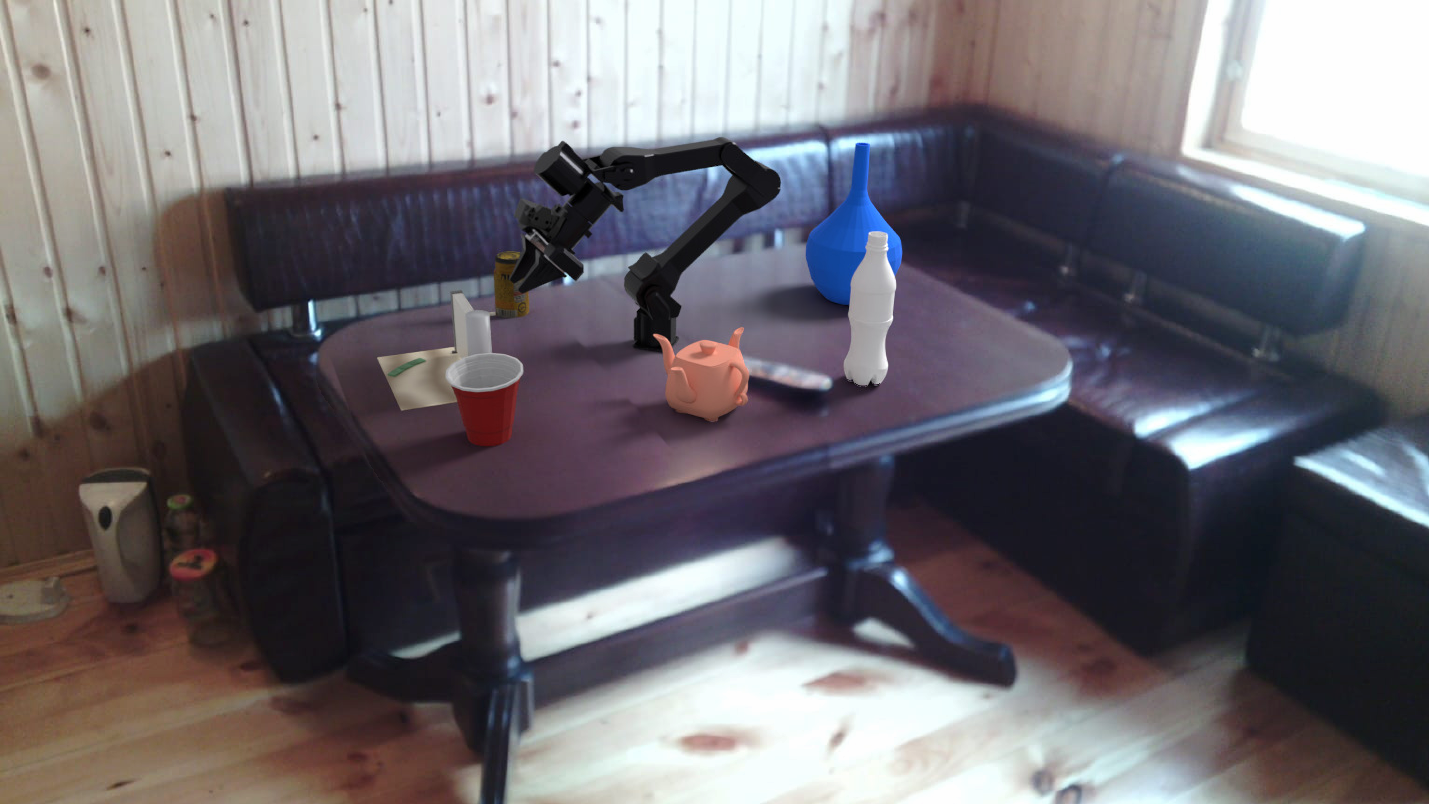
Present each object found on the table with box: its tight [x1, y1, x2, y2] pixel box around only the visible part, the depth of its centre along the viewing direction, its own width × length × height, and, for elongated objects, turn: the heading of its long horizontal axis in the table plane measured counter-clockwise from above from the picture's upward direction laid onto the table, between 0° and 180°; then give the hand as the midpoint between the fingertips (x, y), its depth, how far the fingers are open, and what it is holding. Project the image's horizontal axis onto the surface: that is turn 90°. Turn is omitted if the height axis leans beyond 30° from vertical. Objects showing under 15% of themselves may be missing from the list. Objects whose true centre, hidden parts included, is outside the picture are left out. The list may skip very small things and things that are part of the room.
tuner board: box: [376, 346, 461, 412], centre depth 185 cm, size 16×21×2 cm
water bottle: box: [843, 231, 897, 386], centre depth 185 cm, size 7×7×25 cm
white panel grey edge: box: [449, 289, 493, 359], centre depth 183 cm, size 17×4×12 cm, turn 24°
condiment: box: [488, 250, 530, 319], centre depth 208 cm, size 7×8×12 cm
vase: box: [805, 142, 903, 306], centre depth 219 cm, size 18×18×30 cm
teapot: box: [653, 326, 750, 422], centre depth 177 cm, size 14×14×11 cm
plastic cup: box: [446, 352, 524, 447], centre depth 165 cm, size 11×11×12 cm
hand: (515, 286), depth 187 cm, fingers open, 5 cm apart
